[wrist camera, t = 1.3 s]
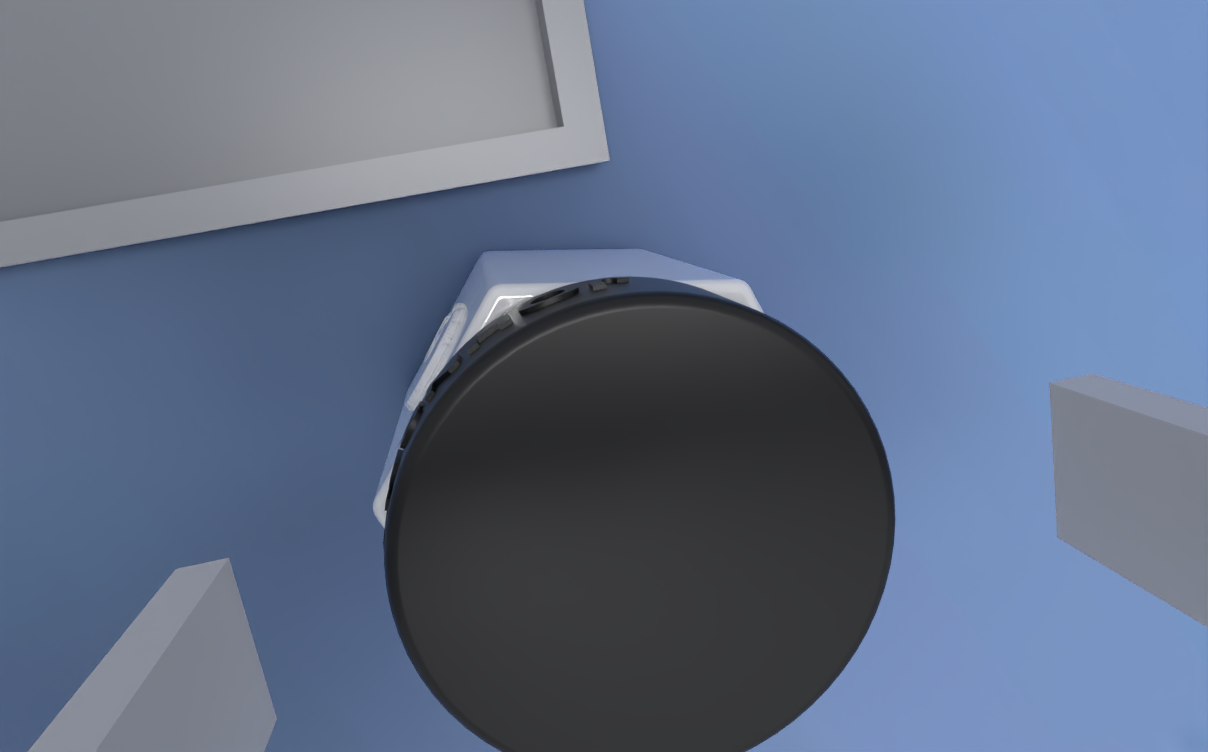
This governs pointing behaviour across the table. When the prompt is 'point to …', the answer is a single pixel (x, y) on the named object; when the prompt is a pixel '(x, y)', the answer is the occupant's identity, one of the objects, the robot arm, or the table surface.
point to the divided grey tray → (274, 110)
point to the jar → (629, 509)
